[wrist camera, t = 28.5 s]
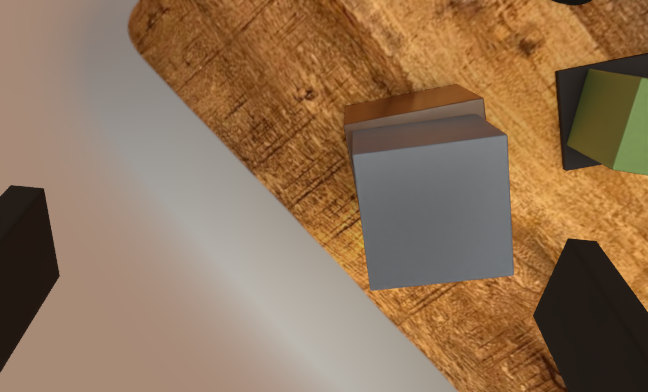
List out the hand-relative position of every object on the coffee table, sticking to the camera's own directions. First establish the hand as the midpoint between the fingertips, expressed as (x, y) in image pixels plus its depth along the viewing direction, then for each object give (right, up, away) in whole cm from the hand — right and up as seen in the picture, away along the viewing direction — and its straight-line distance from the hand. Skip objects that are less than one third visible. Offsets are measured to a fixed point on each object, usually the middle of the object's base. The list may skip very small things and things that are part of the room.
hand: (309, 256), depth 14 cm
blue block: (+7, +3, +22) cm, 23 cm away
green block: (+23, +8, +28) cm, 37 cm away
